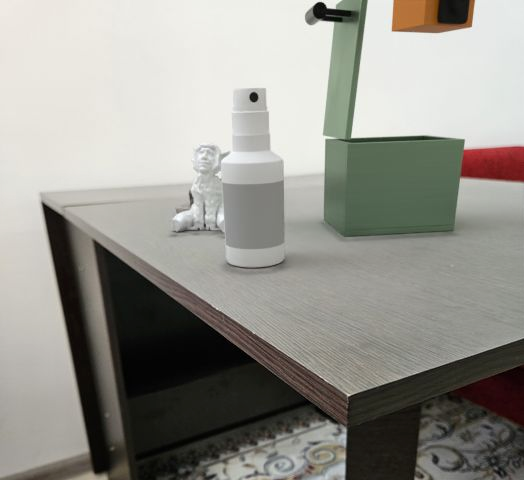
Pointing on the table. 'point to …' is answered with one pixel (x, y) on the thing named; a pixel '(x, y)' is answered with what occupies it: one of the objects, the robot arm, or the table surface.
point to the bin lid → (342, 62)
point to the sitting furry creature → (204, 192)
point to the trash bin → (392, 184)
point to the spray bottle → (252, 186)
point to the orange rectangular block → (423, 17)
